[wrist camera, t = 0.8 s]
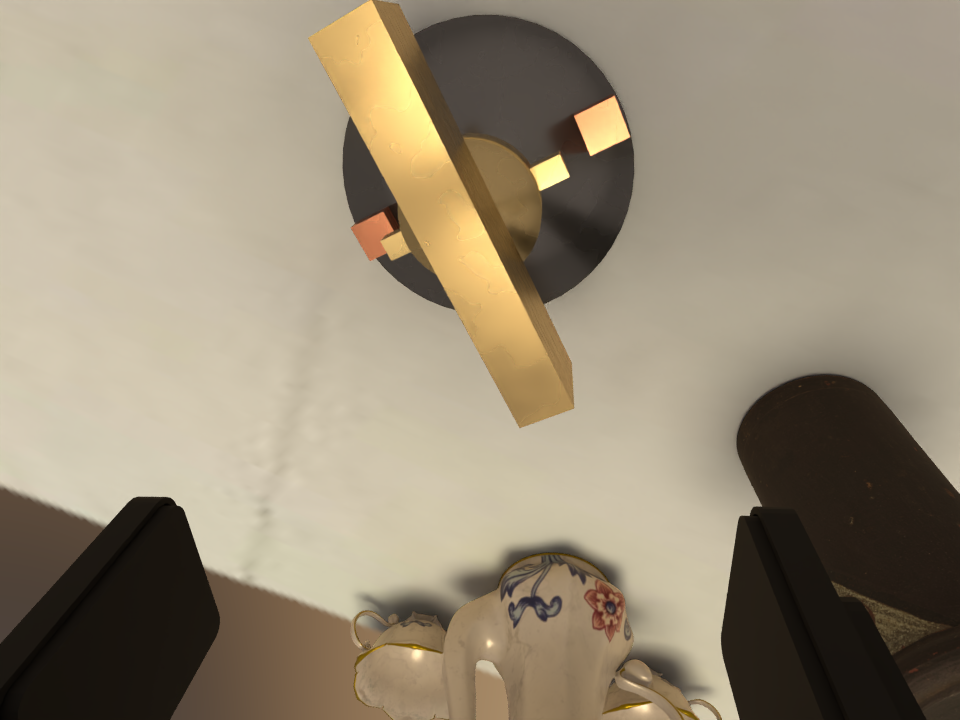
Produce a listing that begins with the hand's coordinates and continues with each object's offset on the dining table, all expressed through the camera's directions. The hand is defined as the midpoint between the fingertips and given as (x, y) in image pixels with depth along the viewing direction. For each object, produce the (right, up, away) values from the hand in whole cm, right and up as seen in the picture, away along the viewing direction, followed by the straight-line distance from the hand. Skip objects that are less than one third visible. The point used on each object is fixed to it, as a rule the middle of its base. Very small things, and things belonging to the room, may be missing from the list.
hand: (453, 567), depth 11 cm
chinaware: (+5, -16, +38) cm, 42 cm away
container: (+20, -1, +28) cm, 35 cm away
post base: (+1, +13, +23) cm, 27 cm away
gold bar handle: (0, +10, +18) cm, 20 cm away
